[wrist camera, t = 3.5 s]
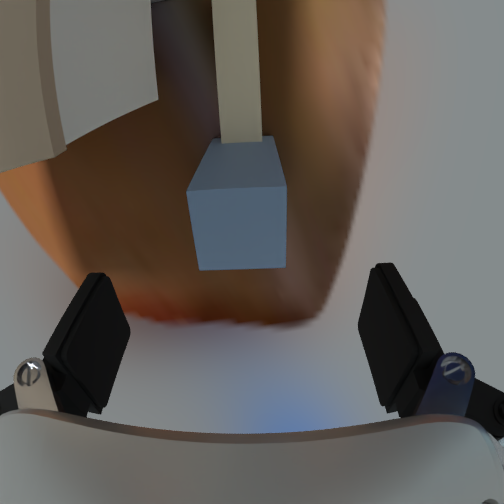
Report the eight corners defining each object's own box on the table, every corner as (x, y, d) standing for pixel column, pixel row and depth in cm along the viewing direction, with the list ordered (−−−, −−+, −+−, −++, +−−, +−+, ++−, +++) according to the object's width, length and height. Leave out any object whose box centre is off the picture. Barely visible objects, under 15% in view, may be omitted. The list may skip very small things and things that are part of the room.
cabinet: (172, -18, 13) (51, -107, 1) (179, 93, 17) (54, 157, 6) (25, 34, 13) (-124, 66, 1) (36, 126, 18) (-101, 214, 6)
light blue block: (267, 0, 14) (279, -48, 6) (273, 189, 21) (285, 267, 14) (202, 4, 14) (165, -38, 7) (217, 192, 22) (199, 270, 14)
